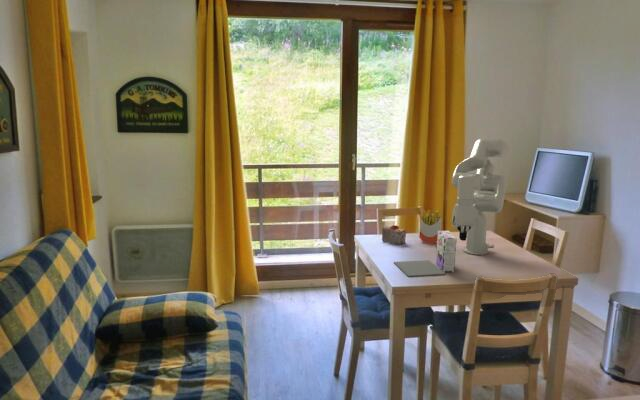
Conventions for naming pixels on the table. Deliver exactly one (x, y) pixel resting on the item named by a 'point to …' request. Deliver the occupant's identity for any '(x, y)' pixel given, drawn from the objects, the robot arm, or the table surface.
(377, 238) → the table surface
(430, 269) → the mat
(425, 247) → the table surface
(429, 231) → the french fries container
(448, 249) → the candy box
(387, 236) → the food item
